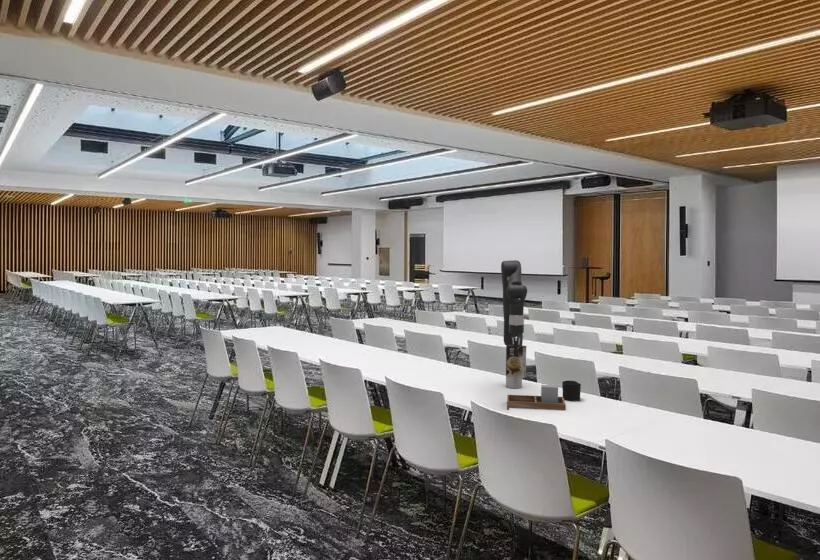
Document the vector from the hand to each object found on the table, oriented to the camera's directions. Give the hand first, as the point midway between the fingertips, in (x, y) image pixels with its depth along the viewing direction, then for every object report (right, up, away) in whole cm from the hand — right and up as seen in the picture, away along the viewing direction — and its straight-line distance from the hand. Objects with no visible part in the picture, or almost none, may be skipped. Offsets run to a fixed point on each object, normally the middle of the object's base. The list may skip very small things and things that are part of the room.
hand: (516, 355), depth 299 cm
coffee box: (0, -11, 0) cm, 11 cm away
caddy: (+9, -26, -3) cm, 28 cm away
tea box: (+16, -25, -4) cm, 30 cm away
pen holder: (+31, -26, +8) cm, 41 cm away
